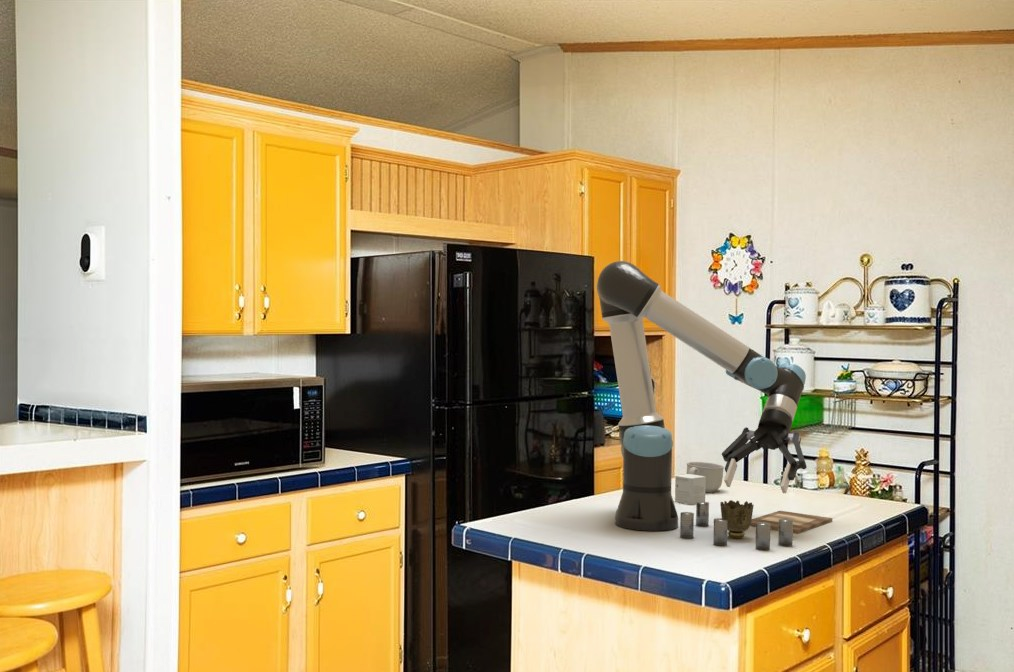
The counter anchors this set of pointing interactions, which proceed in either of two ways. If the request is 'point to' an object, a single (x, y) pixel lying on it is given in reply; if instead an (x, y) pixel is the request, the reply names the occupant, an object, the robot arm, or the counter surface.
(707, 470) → the teacup
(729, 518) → the cup
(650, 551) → the counter surface
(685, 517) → the spacer field
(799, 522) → the walnut pad
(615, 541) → the counter surface
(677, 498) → the product box
